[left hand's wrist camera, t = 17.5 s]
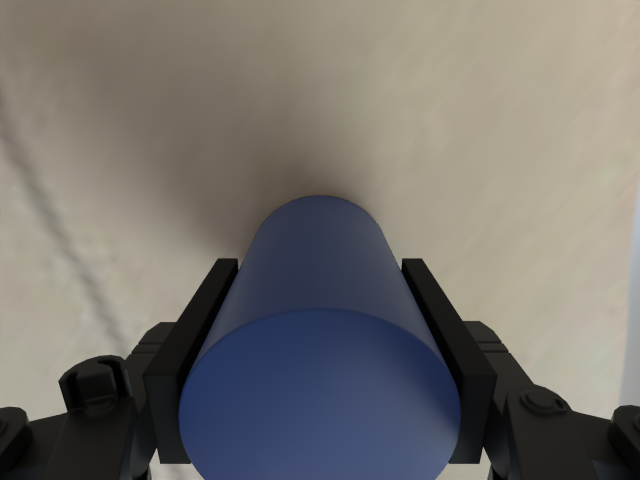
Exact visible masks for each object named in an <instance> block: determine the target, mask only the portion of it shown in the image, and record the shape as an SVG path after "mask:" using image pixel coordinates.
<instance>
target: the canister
mask: <svg viewBox="0 0 640 480" xmlns="http://www.w3.org/2000/svg"><path fill="white" fill-rule="evenodd" d="M461 416H462V413H461V403H460V397H459V394H458V390H457V387H456V384H455V382H454V380H453V378H452V375H451V373H450V371H449V369H448V367H447V365H446V363H445V361H444V359H443V357H442V355H441V353H440V351H439V349H438V346H437V344H436V342H435V340H434V338H433V336H432V334H431V332H430V330H429V328H428V326H427V324H426V322H425V320H424V317H423V315H422V313H421V311H420V309H419V307H418V305H417V303H416V301H415V299H414V297H413V295H412V293H411V291H410V289H409V286H408V284H407V282H406V280H405V278H404V276H403V274H402V272H401V270H400V268H399V266H398V264H397V262H396V260H395V257H394V255H393V253H392V251H391V249H390V247H389V245H388V243H387V241H386V239H385V237H384V235H383V233H382V231H381V229H380V227H379V226H378V224H377V223H376V222H375V220H374V219H373V218H372V217H371V216H370V215H369V214H368V213H367V212H365V211H364V210H363V209H361V208H360V207H358V206H357V205H355V204H353V203H351V202H349V201H347V200H343V199H340V198H337V197H331V196H308V197H303V198H299V199H296V200H293V201H291V202H289V203H287V204H285V205H283V206H281V207H280V208H278V209H277V210H275V211H274V212H273V213H272V214H271V215H270V216H269V217H268V218H267V219H266V220H265V221H264V222H263V224H262V225H261V227H260V228H259V230H258V232H257V234H256V236H255V238H254V240H253V242H252V244H251V246H250V248H249V250H248V253H247V255H246V257H245V259H244V261H243V263H242V265H241V267H240V269H239V271H238V273H237V275H236V277H235V279H234V281H233V284H232V286H231V288H230V290H229V292H228V294H227V296H226V298H225V300H224V302H223V304H222V306H221V308H220V310H219V312H218V315H217V317H216V319H215V321H214V323H213V325H212V327H211V329H210V331H209V333H208V335H207V337H206V339H205V341H204V343H203V346H202V348H201V350H200V352H199V354H198V356H197V358H196V360H195V362H194V364H193V366H192V368H191V370H190V372H189V375H188V377H187V379H186V381H185V384H184V386H183V388H182V392H181V397H180V401H179V411H178V421H179V431H180V435H181V439H182V443H183V446H184V448H185V450H186V453H187V455H188V457H189V459H190V461H191V462H192V464H193V465H194V467H195V468H196V470H197V471H198V472H199V474H200V475H201V476H202V477H203V478H204V479H205V480H435V479H436V478H437V477H438V475H439V474H440V473H441V472H442V471H443V469H444V468H445V466H446V465H447V463H448V462H449V460H450V458H451V457H452V454H453V452H454V450H455V447H456V445H457V442H458V438H459V434H460V430H461Z"/></svg>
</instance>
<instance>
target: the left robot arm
mask: <svg viewBox="0 0 640 480" xmlns="http://www.w3.org/2000/svg"><path fill="white" fill-rule="evenodd" d="M238 271H239V270H238V259H237V258H220V259H217V261H216V262H215V264H214V265H213V267H212V269H211V270H210V272H209V273H208V275H207V276H206V278H205V279H204V281H203V282H202V284H201V285H200V287H199V288H198V290H197V291H196V293H195V295H194V296H193V298H192V299H191V301H190V302H189V304H188V305H187V307H186V308H185V310H184V311H183V313H182V314H181V316H180V317H179V319H178V321H177V322H160V323H159V324H157V325H156V326H154V327H153V328H151V329H150V330H148V331H147V332H146V333H145V335H144V336H143V337H142V339H141V340H140V341H139V343H138V345H136V347H135V348H134V349H133V351H132V353H131V354H130V355H129V356H128V357H127V358H126V360H124V359H123V358H122V357H119V356H114V355H105V356H98V357H94V358H91V359H87V360H85V361H83V362H81V363H79V364H77V365H75V366H73V367H72V368H71V369H69V370H68V371H67V372H65V373H64V374H63V376H62V377H61V378H60V380H59V381H58V382H59V385H60V388H61V392H62V395H63V398H64V401H65V405H66V408H67V411H68V412H67V413H63V414H60V415H56V416H51V417H47V418H43V419H39V420H34V421H30V422H29V420H28V417H27V414H26V412H25V411H24V410H22V409H21V408H19V407H5V408H0V480H152V477H151V470H150V466H149V463H150V461H151V459H152V457H153V455H154V453H155V450H156V448H157V450H158V455H159V460H160V464H191V461H190V459H189V457H188V455H187V453H186V450H185V448H184V446H183V443H182V439H181V435H180V431H179V421H178V411H179V401H180V397H181V392H182V388H183V386H184V384H185V381H186V379H187V377H188V375H189V372H190V370H191V368H192V366H193V364H194V362H195V360H196V358H197V356H198V354H199V352H200V350H201V348H202V346H203V343H204V341H205V339H206V337H207V335H208V333H209V331H210V329H211V327H212V325H213V323H214V321H215V319H216V317H217V315H218V312H219V310H220V308H221V306H222V304H223V302H224V300H225V298H226V296H227V294H228V292H229V290H230V288H231V286H232V284H233V281H234V279H235V277H236V275H237V273H238ZM401 272H402V274H403V276H404V278H405V280H406V282H407V284H408V286H409V289H410V291H411V293H412V295H413V297H414V299H415V301H416V303H417V305H418V307H419V309H420V311H421V313H422V315H423V317H424V320H425V322H426V324H427V326H428V328H429V330H430V332H431V334H432V336H433V338H434V340H435V342H436V344H437V346H438V349H439V351H440V353H441V355H442V357H443V359H444V361H445V363H446V365H447V367H448V369H449V371H450V373H451V375H452V378H453V380H454V382H455V384H456V387H457V390H458V394H459V397H460V403H461V413H462V416H461V430H460V434H459V438H458V442H457V445H456V447H455V450H454V452H453V454H452V457H451V458H450V460H449V464H479V463H480V459H481V454H482V449H483V447H484V449H485V451H486V453H487V455H488V458H489V460H490V462H491V466H490V470H489V475H488V479H487V480H640V407H639V406H633V405H626V406H620V407H618V408H617V409H616V410H614V413H613V416H612V419H611V420H608V419H604V418H600V417H595V416H591V415H587V414H582V413H579V412H575V411H572V409H571V408H570V406H569V405H568V403H567V402H566V401H565V400H564V399H562V398H561V397H560V396H559V395H558V394H556V393H554V392H553V391H551V390H549V389H547V388H545V387H542V386H539V385H535V384H534V383H533V382H532V381H531V380H530V378H529V377H528V376H527V374H526V373H525V372H524V370H523V369H522V368H521V366H520V365H519V364H518V362H517V361H516V360H515V358H514V357H513V356H512V355H511V353H509V352H508V349H507V348H506V347H505V345H504V344H502V341H501V340H500V339H499V337H498V336H497V335H496V334H495V332H494V331H493V330H492V329H490V328H489V327H487V326H486V325H485V324H483V323H482V322H480V321H462V319H461V318H460V316H459V315H458V313H457V312H456V310H455V309H454V307H453V306H452V304H451V303H450V301H449V299H448V298H447V296H446V295H445V293H444V292H443V290H442V289H441V287H440V286H439V284H438V283H437V281H436V280H435V278H434V277H433V275H432V273H431V272H430V270H429V269H428V267H427V266H426V264H425V263H424V261H423V260H422V258H402V268H401Z"/></svg>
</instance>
